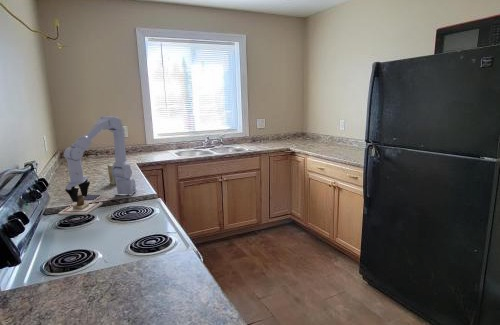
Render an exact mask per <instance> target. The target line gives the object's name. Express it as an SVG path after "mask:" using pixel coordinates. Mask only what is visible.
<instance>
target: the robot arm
mask: <svg viewBox="0 0 500 325" xmlns="http://www.w3.org/2000/svg"><path fill="white" fill-rule="evenodd" d="M104 130H105V131H106V130H108V131H110V132H111V133H112V134H113V148H114V159H115V162H114V163H112V164H113V169H112V174H113V176H114V177H115V179H116V184H115V185H116V191H117V192H116V193H118V194H132V195H134V194H135V193H136V192H137V187H136V180H135V179H134V178H132V175H133V171H132V168H131V164H130V163H129V162H128V161H127V154H126V140H125V138H126V136H125V128H124V127H123V123H122V119H121V118H120V117H118V116H117V115H113V116H111V115H108V116H107V115H101V116H100V117H99V118H98V119H97V121H96V122H95V124H94V125H93V126H92V127H91V129H89V131H88V132H87V133H86V134H85V135H81V136H78V137H77V140H76V141H75V142H73V144H71V145H70V147H67V148H65V150H64V153H63V154H62V155H63V156H62V157H63V158H65V159H66V162H67V169H68V174H69V181H68V183H67V185H65V189H64V190H65V193H67V194H68V195H69V197H70V199H71V201H72V203H76V202H78V195H79V194H78V193H79V190H80V195H83V197H86V196H87V195H88V193H89V192H88V191H89V187H90V184H91V181H90V180H89V177H88V176H84V171H83V166H82V160H81V159H82V158H83V157H84V153H85V151H87V149H88V148H89V147H90V146H91V145H92V141H93V139H94V138H96V137H97V136H98V135H99V134H100V133H101V132H102V131H104ZM77 186H78V187H77ZM134 192H135V193H134ZM133 193H134V194H133Z"/></svg>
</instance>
